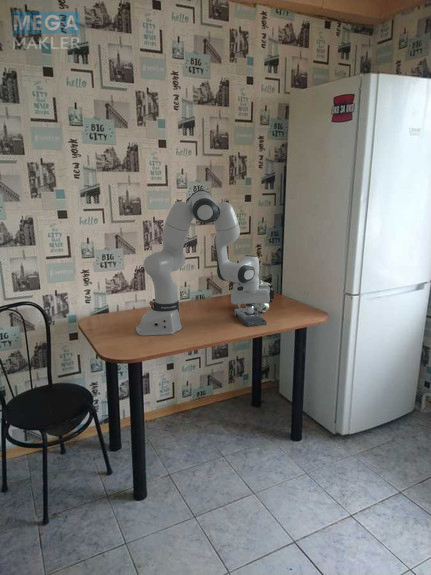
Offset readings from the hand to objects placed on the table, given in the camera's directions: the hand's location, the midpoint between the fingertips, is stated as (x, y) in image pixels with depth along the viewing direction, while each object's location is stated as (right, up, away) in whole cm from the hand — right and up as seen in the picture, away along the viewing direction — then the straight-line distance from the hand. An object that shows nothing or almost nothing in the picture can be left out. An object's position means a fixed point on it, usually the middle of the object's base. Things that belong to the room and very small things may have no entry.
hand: (250, 311), depth 218 cm
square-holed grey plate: (0, -4, +1) cm, 5 cm away
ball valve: (+8, -1, +17) cm, 18 cm away
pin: (0, -5, +1) cm, 5 cm away
